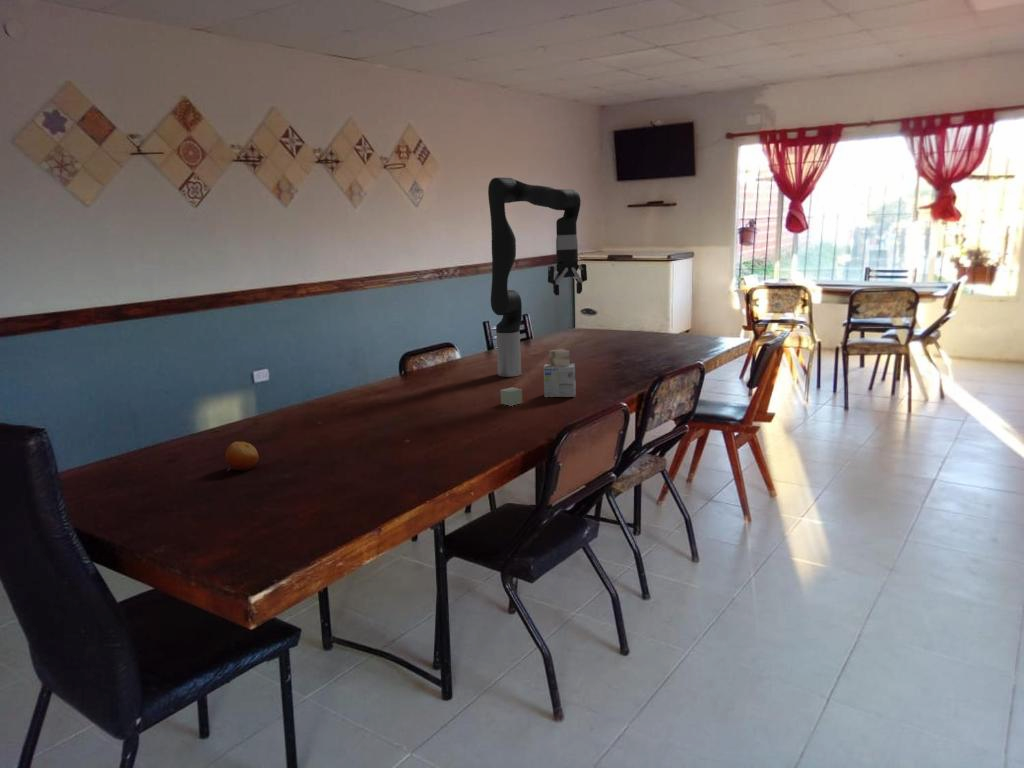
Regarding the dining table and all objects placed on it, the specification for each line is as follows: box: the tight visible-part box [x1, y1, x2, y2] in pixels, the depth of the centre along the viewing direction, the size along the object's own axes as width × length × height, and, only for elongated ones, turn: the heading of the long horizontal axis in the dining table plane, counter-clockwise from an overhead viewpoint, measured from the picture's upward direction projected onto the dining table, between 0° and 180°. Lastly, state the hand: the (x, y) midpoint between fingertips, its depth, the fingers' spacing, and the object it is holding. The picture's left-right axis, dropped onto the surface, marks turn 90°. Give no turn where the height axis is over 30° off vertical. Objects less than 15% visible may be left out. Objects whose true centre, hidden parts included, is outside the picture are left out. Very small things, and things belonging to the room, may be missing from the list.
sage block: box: [500, 387, 523, 407], centre depth 245 cm, size 5×5×5 cm
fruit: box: [224, 441, 260, 472], centre depth 188 cm, size 8×8×8 cm
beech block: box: [549, 348, 571, 367], centre depth 252 cm, size 5×5×5 cm
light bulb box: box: [542, 363, 577, 399], centre depth 254 cm, size 11×7×11 cm, turn 84°
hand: (567, 294), depth 264 cm, fingers open, 8 cm apart
